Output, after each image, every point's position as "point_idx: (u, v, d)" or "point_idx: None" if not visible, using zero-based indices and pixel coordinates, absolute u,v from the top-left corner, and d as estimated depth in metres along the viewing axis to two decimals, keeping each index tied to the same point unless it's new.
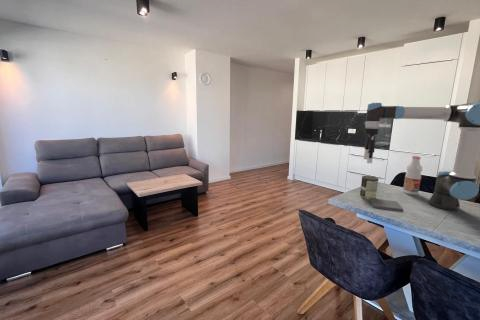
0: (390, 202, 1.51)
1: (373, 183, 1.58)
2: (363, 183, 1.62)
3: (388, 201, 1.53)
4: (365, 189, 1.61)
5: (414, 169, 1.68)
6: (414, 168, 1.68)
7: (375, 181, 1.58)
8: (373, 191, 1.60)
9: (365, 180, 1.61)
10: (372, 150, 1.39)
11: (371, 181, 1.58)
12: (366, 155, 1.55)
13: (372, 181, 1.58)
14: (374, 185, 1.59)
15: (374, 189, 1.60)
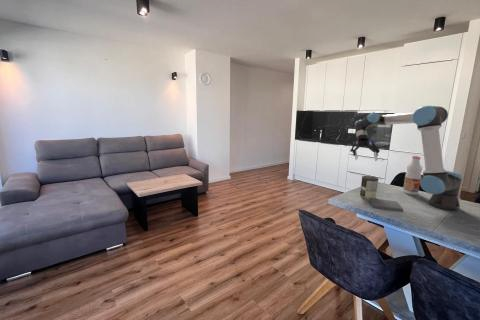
0: (390, 202, 1.51)
1: (373, 183, 1.58)
2: (363, 183, 1.62)
3: (388, 201, 1.53)
4: (365, 189, 1.61)
5: (414, 169, 1.68)
6: (414, 168, 1.68)
7: (375, 181, 1.58)
8: (373, 191, 1.60)
9: (365, 180, 1.61)
10: None
11: (371, 181, 1.58)
12: (375, 156, 1.71)
13: (372, 181, 1.58)
14: (374, 185, 1.59)
15: (374, 189, 1.60)
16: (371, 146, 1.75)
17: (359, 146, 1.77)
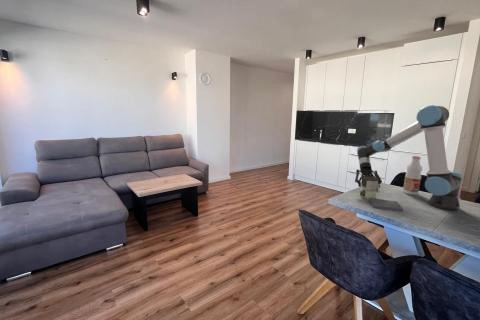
0: (390, 202, 1.51)
1: (373, 183, 1.58)
2: (363, 183, 1.62)
3: (388, 201, 1.53)
4: (365, 189, 1.61)
5: (414, 169, 1.68)
6: (414, 168, 1.68)
7: (375, 181, 1.58)
8: (373, 191, 1.60)
9: (365, 180, 1.61)
10: (355, 179, 1.67)
11: (371, 181, 1.58)
12: (377, 188, 1.62)
13: (372, 181, 1.58)
14: (374, 185, 1.59)
15: (374, 189, 1.60)
16: (374, 176, 1.66)
17: (363, 175, 1.68)
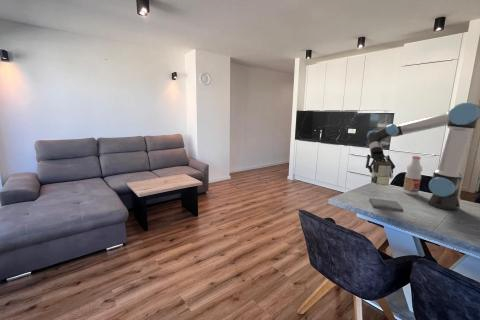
0: (390, 202, 1.51)
1: (386, 168, 1.47)
2: (375, 168, 1.51)
3: (388, 201, 1.53)
4: (377, 175, 1.50)
5: (414, 169, 1.68)
6: (414, 168, 1.68)
7: (388, 166, 1.46)
8: (386, 176, 1.48)
9: (377, 165, 1.49)
10: (366, 165, 1.56)
11: (384, 166, 1.47)
12: (390, 174, 1.50)
13: (385, 166, 1.46)
14: (387, 170, 1.47)
15: (387, 174, 1.48)
16: (386, 161, 1.54)
17: None
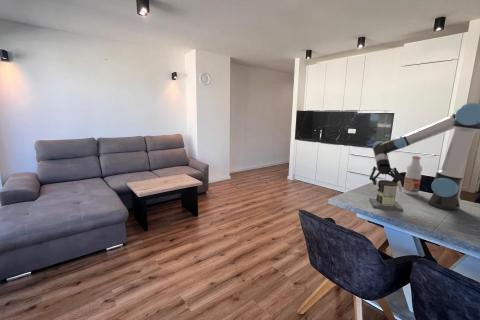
0: None
1: (391, 188, 1.43)
2: (380, 188, 1.47)
3: None
4: (382, 195, 1.46)
5: (414, 169, 1.68)
6: (414, 168, 1.68)
7: (394, 186, 1.42)
8: (391, 197, 1.44)
9: (382, 185, 1.45)
10: (370, 177, 1.52)
11: (389, 186, 1.43)
12: (399, 187, 1.46)
13: (390, 186, 1.42)
14: (392, 191, 1.43)
15: (392, 195, 1.44)
16: (394, 174, 1.50)
17: (380, 173, 1.52)
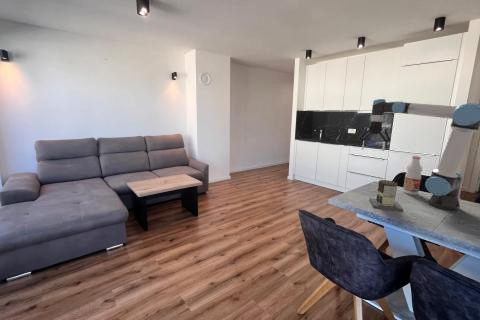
0: None
1: (391, 188, 1.43)
2: (380, 188, 1.47)
3: None
4: (382, 195, 1.46)
5: (414, 169, 1.68)
6: (414, 168, 1.68)
7: (394, 186, 1.42)
8: (391, 197, 1.44)
9: (382, 185, 1.45)
10: (359, 138, 1.74)
11: (389, 186, 1.43)
12: (383, 147, 1.70)
13: (390, 186, 1.42)
14: (393, 191, 1.43)
15: (392, 195, 1.44)
16: (382, 135, 1.68)
17: (369, 134, 1.71)
